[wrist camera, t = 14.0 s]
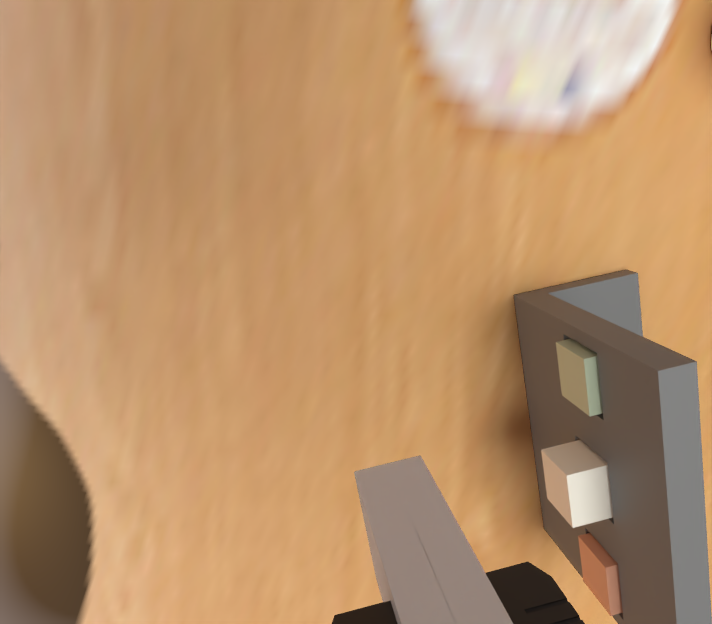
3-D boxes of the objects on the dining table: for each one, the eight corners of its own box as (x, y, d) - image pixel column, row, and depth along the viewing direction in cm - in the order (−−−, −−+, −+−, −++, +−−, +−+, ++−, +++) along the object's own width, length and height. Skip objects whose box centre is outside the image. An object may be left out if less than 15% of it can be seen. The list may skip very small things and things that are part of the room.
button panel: (513, 295, 48) (658, 370, 31) (626, 269, 49) (828, 329, 32) (544, 528, 53) (682, 706, 36) (645, 501, 54) (829, 662, 37)
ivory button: (541, 449, 42) (566, 475, 39) (591, 436, 43) (621, 461, 39) (547, 498, 43) (572, 527, 40) (596, 485, 43) (626, 513, 40)
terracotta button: (578, 535, 44) (605, 567, 41) (626, 522, 44) (657, 553, 41) (583, 580, 45) (610, 615, 42) (630, 567, 45) (661, 601, 42)
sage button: (555, 342, 41) (583, 359, 37) (607, 329, 41) (640, 345, 37) (561, 395, 41) (589, 416, 38) (613, 382, 42) (645, 402, 38)
